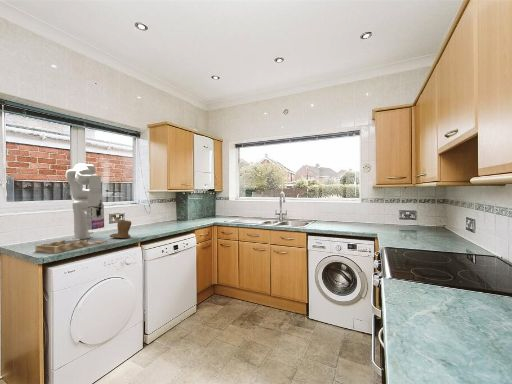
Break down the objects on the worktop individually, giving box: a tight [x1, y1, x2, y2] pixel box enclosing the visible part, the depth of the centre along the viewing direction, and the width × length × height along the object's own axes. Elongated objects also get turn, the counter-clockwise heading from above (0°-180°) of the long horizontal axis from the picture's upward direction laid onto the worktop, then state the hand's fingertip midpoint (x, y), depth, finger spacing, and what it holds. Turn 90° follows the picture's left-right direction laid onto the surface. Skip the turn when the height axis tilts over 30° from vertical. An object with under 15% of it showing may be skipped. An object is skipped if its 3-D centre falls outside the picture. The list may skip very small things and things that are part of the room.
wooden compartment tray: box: [34, 238, 89, 254], centre depth 166 cm, size 22×17×4 cm
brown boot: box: [108, 219, 132, 239], centre depth 203 cm, size 15×12×15 cm
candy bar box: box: [86, 205, 105, 231], centre depth 182 cm, size 11×5×16 cm, turn 168°
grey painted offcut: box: [64, 239, 81, 244], centre depth 172 cm, size 3×8×2 cm, turn 123°
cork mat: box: [88, 239, 108, 246], centre depth 182 cm, size 14×7×1 cm, turn 166°
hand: (95, 215), depth 182 cm, fingers closed on candy bar box, 5 cm apart
